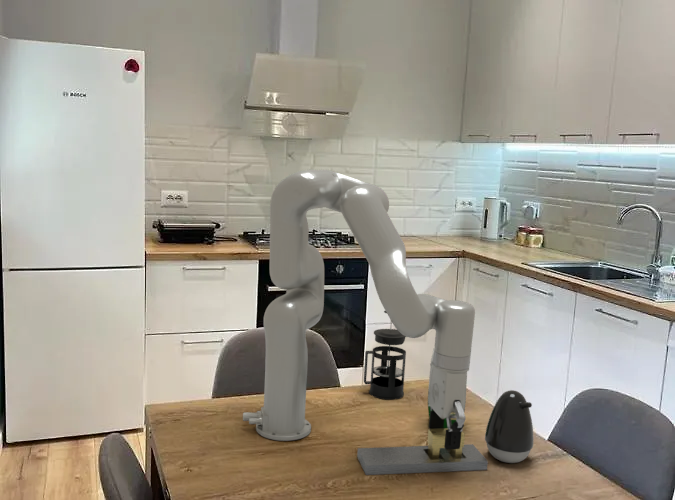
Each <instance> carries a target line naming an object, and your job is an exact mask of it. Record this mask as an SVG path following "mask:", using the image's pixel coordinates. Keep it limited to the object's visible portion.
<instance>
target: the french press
mask: <svg viewBox="0 0 675 500" xmlns="http://www.w3.org/2000/svg"><path fill="white" fill-rule="evenodd" d="M383 313H385V314H387V312H386V311H385V310H384V311H383ZM389 324H390V325H389V326H390V327H389V328H380V329H375V330H373V335H374V341H375V342H376V343H378V344H381V345H380V346H375V347H373V348H372V350H366V351H365V354H364V369H363V370H364V371H363V383H364V385H370V388H369V390H368V393H369V395H370V396H372V397H374V398H375V399H376V398H377V399H379V400H386V401H387V400H388V401H392V400H393V401H394V400H399V399H402V398H403V397H404V395H405V393H404V385H405V374H406V373H405V369H406V356H407V351H406V350H405V349H403V348H401V347H398V346H400V345H403V344H404V343H405V340H406V338H407V337H406V336H404V335H402V334H401V333H400V332H399V331H398V330H397V329H396V328H395V329H394V328H392V326H393V323H392V321H391V320H390V323H389ZM379 352H381V353H379ZM391 352H395V353H399V354H398V355H390V354H391ZM369 354H371V355H372V356H371V370H370V381H368V380H367V377H368V376H367V373H368V372H367V370H368V358H369V356H368V355H369ZM375 358H376V359H378V360H380V365H378V366H375ZM398 361H402V364H401V365H402V367H401V368H399V367H397V362H398ZM374 375H375V376H374ZM400 377H401V379H400Z"/></svg>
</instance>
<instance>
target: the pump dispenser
mask: <svg viewBox="0 0 675 500" xmlns="http://www.w3.org/2000/svg"><path fill="white" fill-rule="evenodd" d="M532 406H533V403H532V402H529V401H528V402H527V400H526V397H525V396H524V395H523V394H522V393H521V392H520V391H517V390H512V389H510V390H507V391H504V392H503V393H502V394H501V395H500V396H499V397H498V399H497V401H496V402H495V404H494V406H493V408H492V410H491V412H490V414H489V415H490V416H489V418H488V421H487V425H486V429H485V434H484V440H485V442H486V447H487V450H488V451H489V454H490V455H491V456H492V457H494V458H495V459H497V460H499V461H500V462H502V463H506V464H507V463H509V464H516V463H521V462H522V461H525V459H527V457H528V456H529V455H530V453H531V450H532V449H533V447H534V441H535V440H534V439H535V438H534V424H533V421H532V415H531V410H530V408H532Z"/></svg>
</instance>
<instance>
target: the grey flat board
mask: <svg viewBox="0 0 675 500" xmlns="http://www.w3.org/2000/svg"><path fill="white" fill-rule="evenodd" d="M356 456H357V457H356V458H357V459H358V462H359V464H360V466H361V468H362V469H363V472H364V475H365V476H372V475H373V476H376V475H394V474H395V475H398V474H420V473H421V474H423V473H425V474H426V473H438V472H439V473H445V472H464V471H465V472H469V471H472V472H473V471H487V470H488V463H489V462H488V461H489V460H488V459H487V458H486V457H485V456H484V455H483V454H482V452H481V451H480V450H479V449H478V448H477V447H476V446H475V445H474V444H471V443H470V444H469V443H468V444H464V447H462V457H461V459H453V458H452V456H451V455H450V449H445V448H440V451H439V459H436V460H430V458H429V457H428V445H418V446H417V445H416V446H415V445H413V446H409V445H408V446H390V447H389V446H388V447H387V446H384V447H381V446H379V447H357V454H356Z"/></svg>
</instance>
